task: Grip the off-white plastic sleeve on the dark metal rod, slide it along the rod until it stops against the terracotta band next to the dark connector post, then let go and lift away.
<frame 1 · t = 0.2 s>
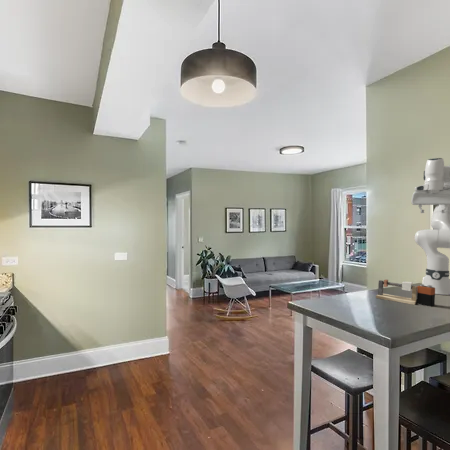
hand: (432, 213, 166), 47 cm above the table, tool pointing down, fingers open, 8 cm apart
rod stand: (396, 299, 164), on the table
battery: (425, 304, 156), on the table
marker sleeve: (407, 286, 161), point 8 cm above the table, slide at 0.0 cm
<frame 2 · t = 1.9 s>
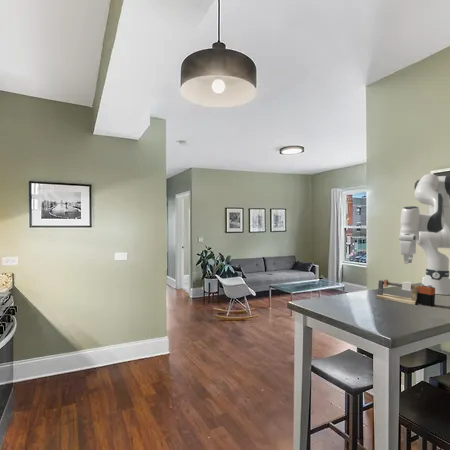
hand: (408, 263, 161), 20 cm above the table, tool pointing down, fingers open, 8 cm apart
nothing on the table moved.
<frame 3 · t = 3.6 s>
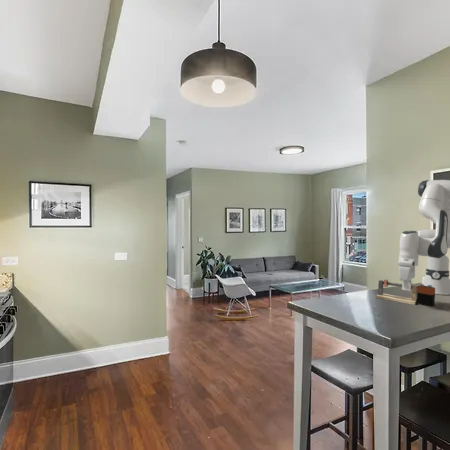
hand: (407, 287, 161), 7 cm above the table, tool pointing down, fingers closed on marker sleeve, 4 cm apart
marker sleeve: (407, 286, 161), point 8 cm above the table, slide at 0.0 cm, touching gripper
everything else where it was.
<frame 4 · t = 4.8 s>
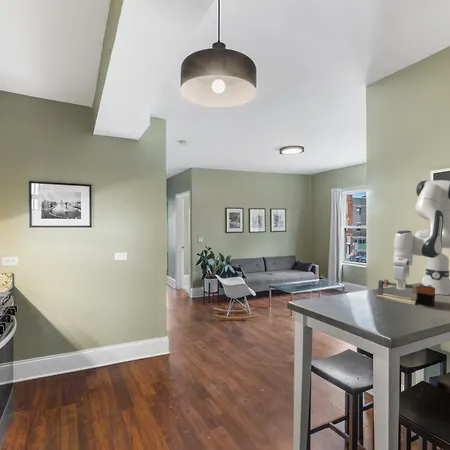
hand: (401, 287, 162), 7 cm above the table, tool pointing down, fingers closed on marker sleeve, 4 cm apart
marker sleeve: (401, 285, 162), point 8 cm above the table, slide at 2.6 cm, touching gripper
everything else where it was.
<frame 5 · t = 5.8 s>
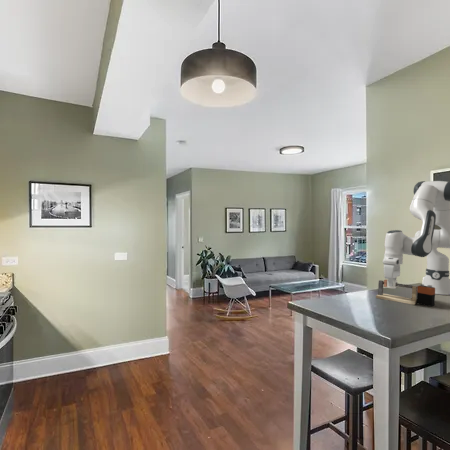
hand: (392, 285, 165), 7 cm above the table, tool pointing down, fingers closed on marker sleeve, 4 cm apart
marker sleeve: (392, 284, 165), point 8 cm above the table, slide at 7.1 cm, touching gripper
everything else where it was.
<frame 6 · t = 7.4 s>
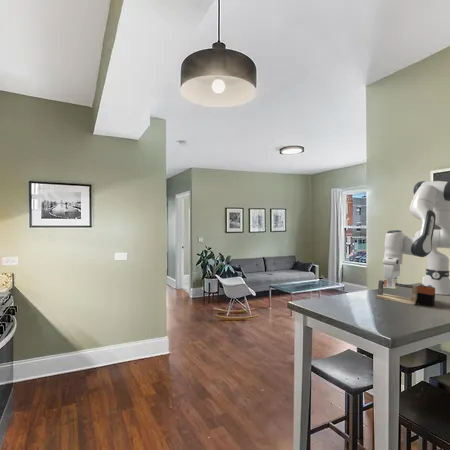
hand: (391, 285, 165), 7 cm above the table, tool pointing down, fingers open, 8 cm apart
marker sleeve: (391, 283, 165), point 8 cm above the table, slide at 7.2 cm
everything else where it was.
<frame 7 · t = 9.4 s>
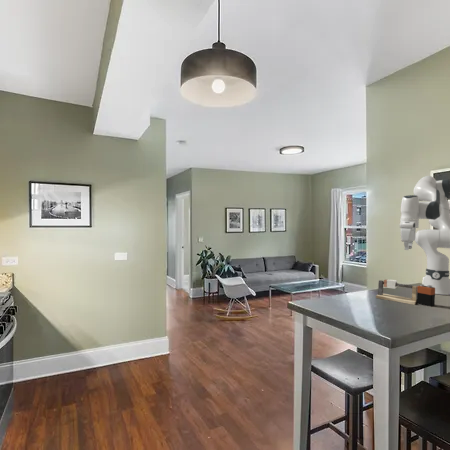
hand: (408, 249, 170), 27 cm above the table, tool pointing down, fingers open, 8 cm apart
nothing on the table moved.
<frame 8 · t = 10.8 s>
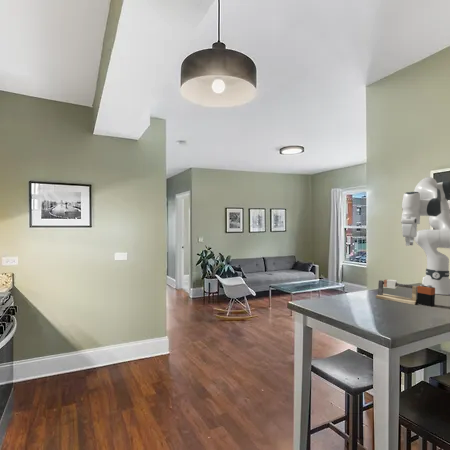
hand: (409, 245, 170), 29 cm above the table, tool pointing down, fingers open, 8 cm apart
nothing on the table moved.
at the end: marker sleeve slide at 7.2 cm; the gripper is holding nothing; battery moved 0.2 cm from its start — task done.
